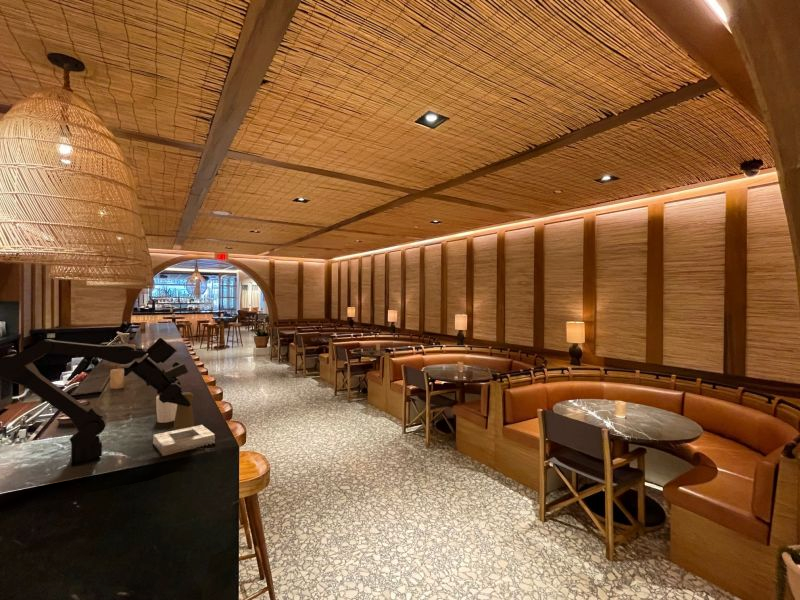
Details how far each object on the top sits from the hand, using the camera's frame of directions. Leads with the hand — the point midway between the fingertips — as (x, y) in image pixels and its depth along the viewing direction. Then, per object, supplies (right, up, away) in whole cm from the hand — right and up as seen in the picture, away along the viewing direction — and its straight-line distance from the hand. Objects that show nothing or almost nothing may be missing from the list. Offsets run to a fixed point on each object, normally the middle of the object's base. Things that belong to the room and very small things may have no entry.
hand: (189, 403), depth 123 cm
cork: (-1, -7, -1) cm, 7 cm away
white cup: (-23, -14, +24) cm, 36 cm away
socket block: (-1, -13, -1) cm, 13 cm away
